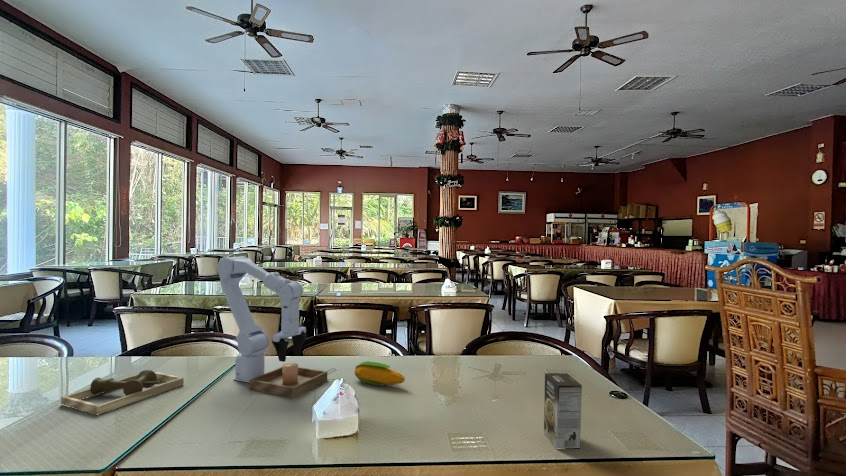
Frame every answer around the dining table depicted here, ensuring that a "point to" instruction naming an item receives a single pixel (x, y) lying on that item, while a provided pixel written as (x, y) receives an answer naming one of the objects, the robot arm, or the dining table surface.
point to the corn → (377, 374)
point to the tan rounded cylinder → (290, 374)
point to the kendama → (125, 383)
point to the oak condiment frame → (75, 401)
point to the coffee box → (562, 410)
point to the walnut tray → (274, 385)
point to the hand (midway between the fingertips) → (289, 358)
